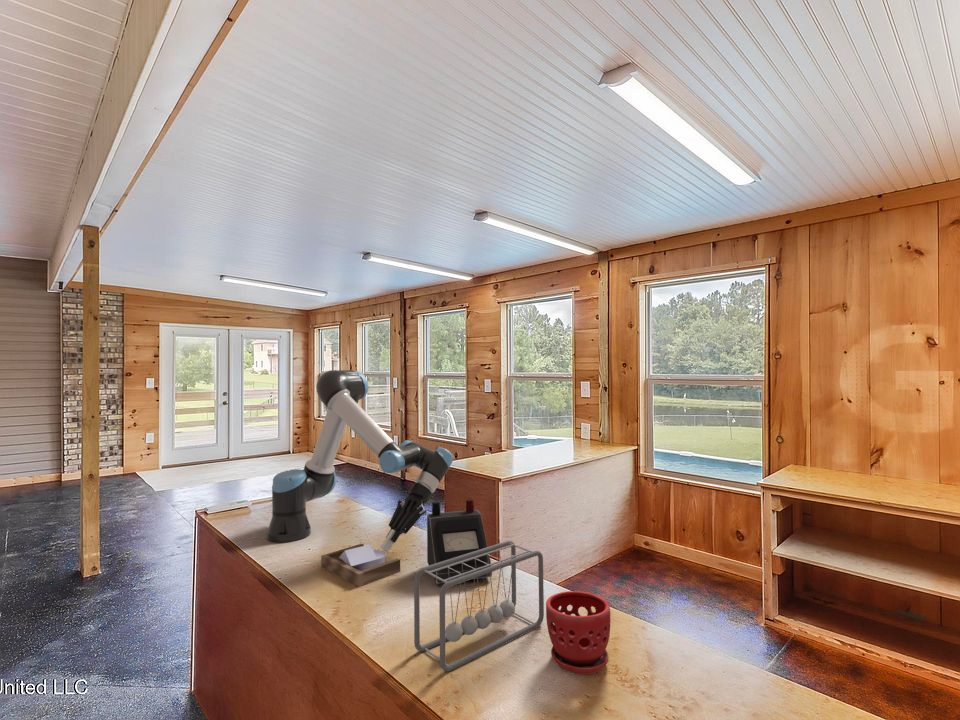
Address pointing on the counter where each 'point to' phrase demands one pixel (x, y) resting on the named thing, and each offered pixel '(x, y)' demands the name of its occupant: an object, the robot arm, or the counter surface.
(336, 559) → the walnut bay
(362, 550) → the wedge on round base
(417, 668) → the counter surface
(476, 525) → the voltmeter
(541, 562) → the newton's cradle
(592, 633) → the plant pot
